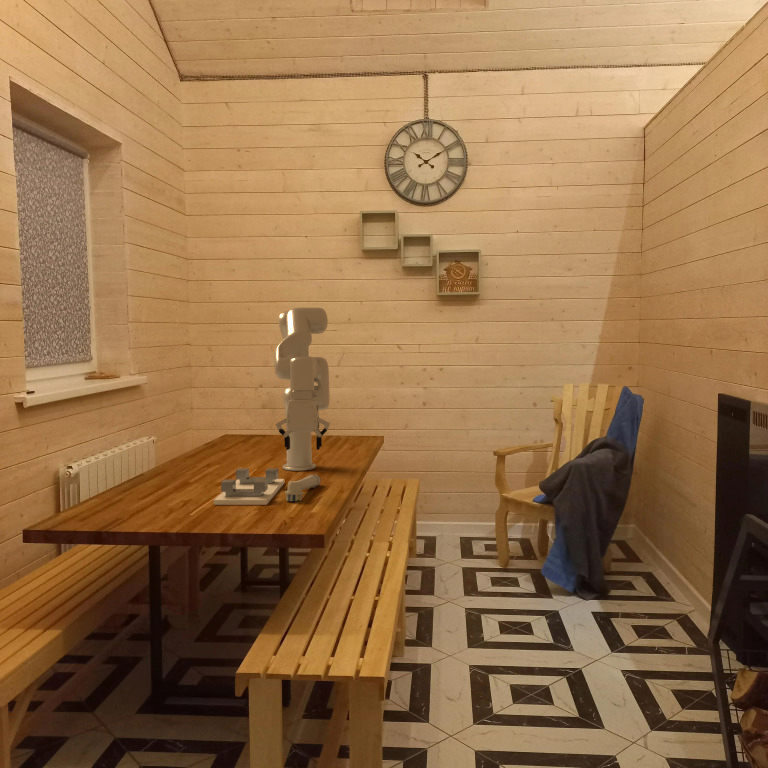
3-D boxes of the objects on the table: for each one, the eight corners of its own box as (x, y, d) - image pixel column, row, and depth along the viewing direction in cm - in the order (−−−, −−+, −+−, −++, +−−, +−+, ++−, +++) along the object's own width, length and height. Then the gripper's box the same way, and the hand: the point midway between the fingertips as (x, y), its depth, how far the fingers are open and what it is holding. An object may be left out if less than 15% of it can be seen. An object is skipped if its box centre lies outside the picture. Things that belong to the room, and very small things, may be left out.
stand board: (238, 483, 235) (238, 478, 235) (284, 483, 235) (284, 478, 235) (213, 504, 205) (213, 499, 205) (266, 504, 205) (266, 499, 205)
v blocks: (238, 481, 231) (238, 468, 231) (278, 481, 231) (278, 468, 230) (221, 496, 209) (221, 482, 209) (265, 496, 209) (264, 482, 208)
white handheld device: (322, 474, 231) (299, 479, 207) (322, 494, 231) (298, 501, 206) (308, 473, 232) (282, 478, 208) (307, 493, 232) (282, 500, 207)
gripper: (330, 395, 221) (331, 447, 222) (277, 395, 221) (278, 447, 222) (328, 396, 213) (328, 450, 214) (273, 397, 214) (274, 451, 215)
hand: (303, 449), depth 218 cm, fingers open, 9 cm apart
